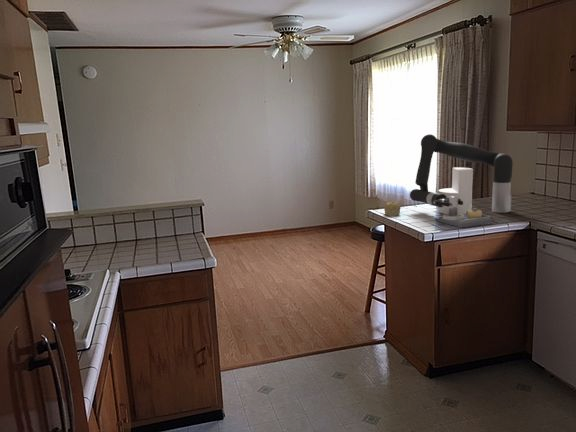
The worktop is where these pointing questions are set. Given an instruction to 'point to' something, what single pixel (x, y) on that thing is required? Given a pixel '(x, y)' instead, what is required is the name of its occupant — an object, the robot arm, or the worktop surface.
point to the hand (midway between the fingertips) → (455, 203)
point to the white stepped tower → (459, 189)
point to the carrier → (467, 219)
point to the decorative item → (392, 208)
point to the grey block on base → (453, 207)
